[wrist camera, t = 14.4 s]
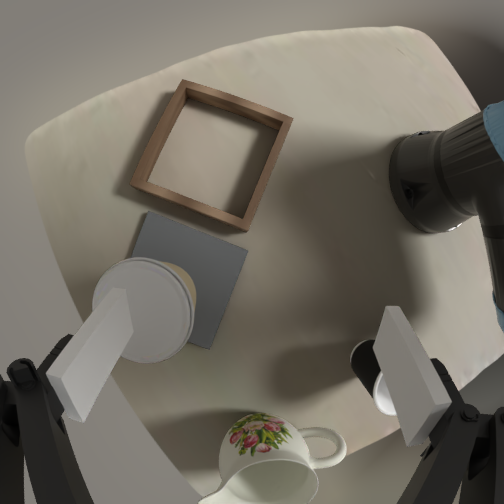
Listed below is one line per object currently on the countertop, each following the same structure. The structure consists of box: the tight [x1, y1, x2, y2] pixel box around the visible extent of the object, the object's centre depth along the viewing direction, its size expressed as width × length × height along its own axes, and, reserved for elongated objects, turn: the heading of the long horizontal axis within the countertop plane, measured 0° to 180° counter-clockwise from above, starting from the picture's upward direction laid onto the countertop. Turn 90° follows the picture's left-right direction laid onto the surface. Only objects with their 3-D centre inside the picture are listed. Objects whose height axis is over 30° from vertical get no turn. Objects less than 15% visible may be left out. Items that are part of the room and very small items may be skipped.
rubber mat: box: [131, 211, 248, 349], centre depth 37 cm, size 13×13×1 cm
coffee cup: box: [92, 257, 196, 363], centre depth 30 cm, size 9×9×12 cm
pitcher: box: [197, 413, 346, 504], centre depth 31 cm, size 11×18×14 cm, turn 102°
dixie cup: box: [350, 340, 397, 416], centre depth 34 cm, size 8×8×11 cm
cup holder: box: [129, 79, 294, 232], centre depth 36 cm, size 15×15×3 cm
